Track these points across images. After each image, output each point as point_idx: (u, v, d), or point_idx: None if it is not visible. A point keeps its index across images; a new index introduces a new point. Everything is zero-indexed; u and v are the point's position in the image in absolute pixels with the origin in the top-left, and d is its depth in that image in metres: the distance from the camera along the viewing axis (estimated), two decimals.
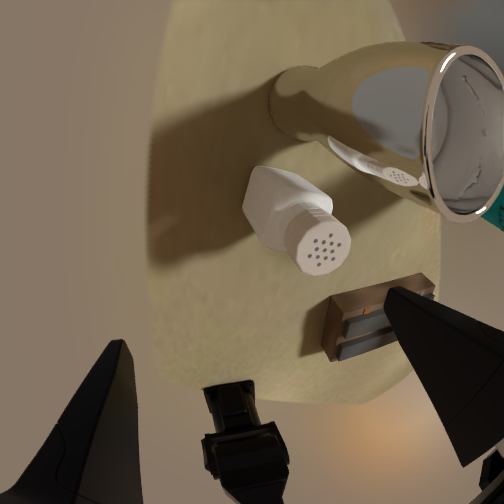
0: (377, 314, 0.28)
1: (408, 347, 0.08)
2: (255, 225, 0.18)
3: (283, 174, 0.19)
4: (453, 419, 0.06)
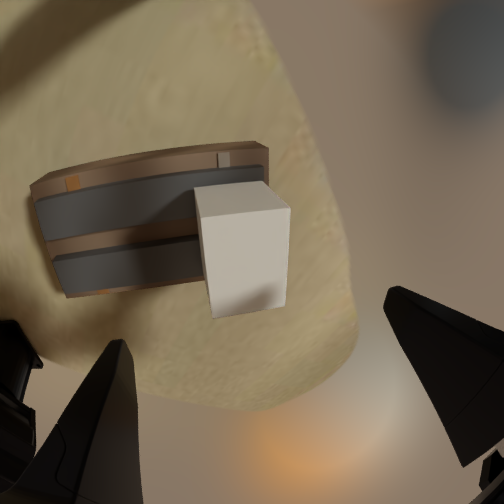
0: (87, 190, 0.13)
1: (408, 347, 0.08)
2: None
3: None
4: (453, 419, 0.06)
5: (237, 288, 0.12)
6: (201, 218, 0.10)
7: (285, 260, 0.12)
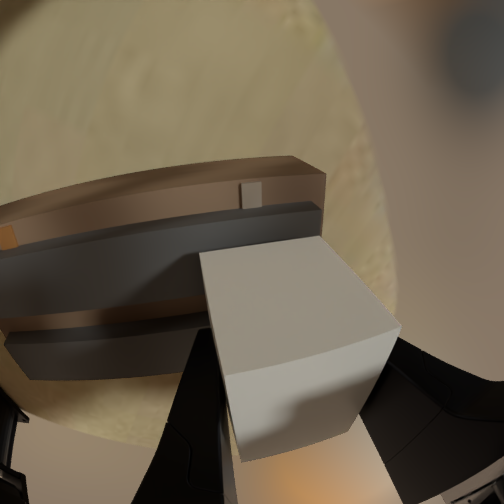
0: (24, 252, 0.07)
1: None
2: None
3: None
4: (391, 457, 0.06)
5: (285, 436, 0.06)
6: (225, 375, 0.04)
7: (367, 392, 0.06)
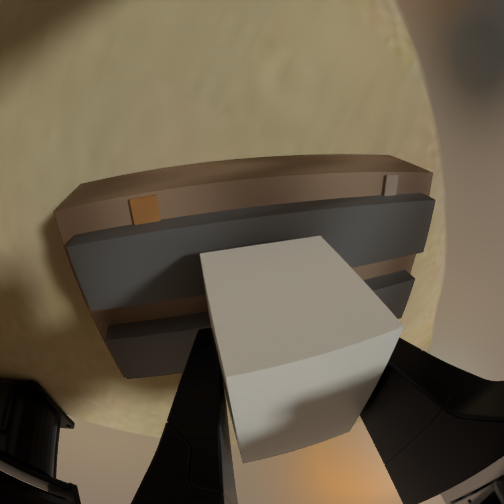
0: (181, 225, 0.08)
1: None
2: None
3: None
4: (391, 457, 0.06)
5: (287, 437, 0.06)
6: (227, 376, 0.04)
7: (369, 393, 0.06)
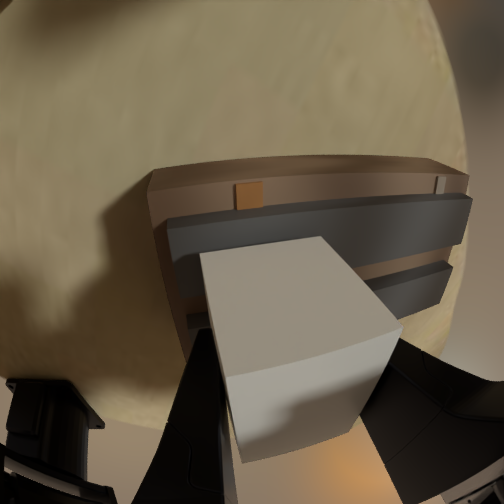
0: (289, 211, 0.08)
1: None
2: None
3: None
4: (391, 458, 0.06)
5: (286, 437, 0.06)
6: (227, 377, 0.04)
7: (368, 393, 0.06)
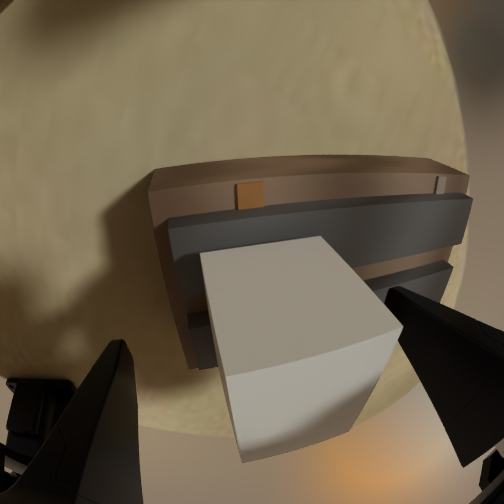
0: (290, 211, 0.08)
1: (408, 347, 0.08)
2: None
3: None
4: (453, 419, 0.06)
5: (286, 436, 0.06)
6: (227, 376, 0.04)
7: (368, 393, 0.06)
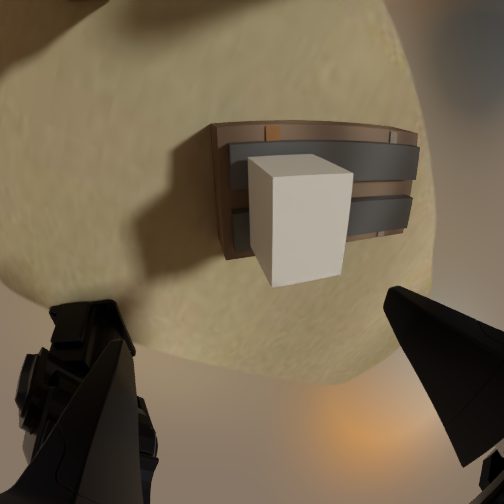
0: (295, 141, 0.14)
1: (408, 347, 0.08)
2: None
3: None
4: (453, 419, 0.06)
5: (300, 255, 0.12)
6: (273, 178, 0.10)
7: (345, 226, 0.12)
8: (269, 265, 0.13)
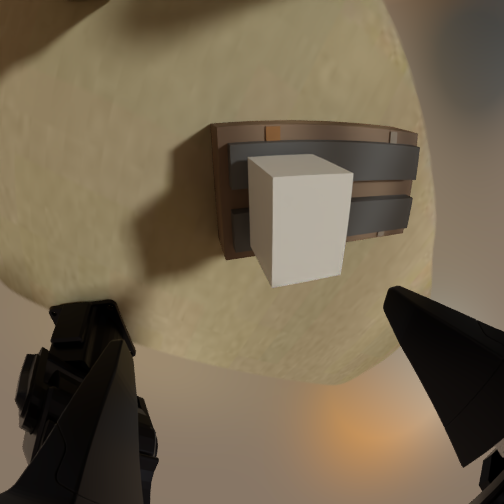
0: (295, 141, 0.14)
1: (408, 347, 0.08)
2: None
3: None
4: (453, 419, 0.06)
5: (300, 255, 0.12)
6: (273, 178, 0.10)
7: (345, 226, 0.12)
8: (269, 265, 0.13)
